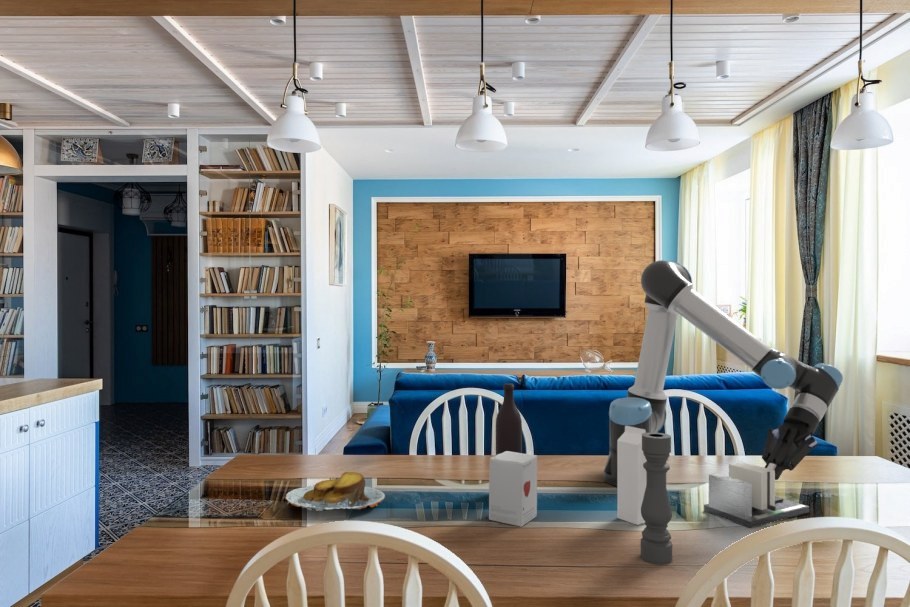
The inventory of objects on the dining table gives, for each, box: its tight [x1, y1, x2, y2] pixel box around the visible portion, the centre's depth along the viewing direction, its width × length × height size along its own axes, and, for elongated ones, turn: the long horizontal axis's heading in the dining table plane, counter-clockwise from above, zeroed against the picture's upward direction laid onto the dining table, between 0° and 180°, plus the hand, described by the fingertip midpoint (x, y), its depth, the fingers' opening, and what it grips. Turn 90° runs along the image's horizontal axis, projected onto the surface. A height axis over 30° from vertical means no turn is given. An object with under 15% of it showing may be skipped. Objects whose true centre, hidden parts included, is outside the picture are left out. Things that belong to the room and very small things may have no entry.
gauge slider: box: [728, 461, 776, 511], centre depth 150 cm, size 5×11×9 cm, turn 28°
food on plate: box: [285, 471, 386, 512], centre depth 159 cm, size 25×25×7 cm
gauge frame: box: [703, 472, 810, 529], centre depth 152 cm, size 22×13×10 cm, turn 118°
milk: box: [616, 426, 647, 526], centre depth 147 cm, size 6×6×22 cm
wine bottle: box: [495, 383, 523, 456], centre depth 165 cm, size 7×7×30 cm
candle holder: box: [640, 432, 673, 566], centre depth 124 cm, size 6×6×25 cm
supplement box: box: [488, 451, 538, 528], centre depth 147 cm, size 9×9×15 cm
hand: (763, 487), depth 153 cm, fingers closed
